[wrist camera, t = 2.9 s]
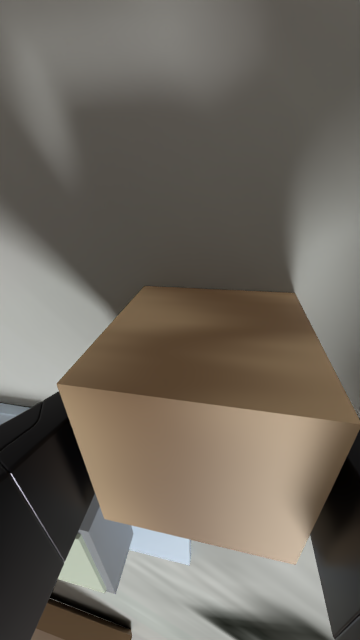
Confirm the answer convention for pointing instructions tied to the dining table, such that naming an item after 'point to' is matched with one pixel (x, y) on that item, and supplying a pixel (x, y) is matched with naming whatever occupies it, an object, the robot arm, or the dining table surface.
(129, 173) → the dining table surface
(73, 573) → the base block
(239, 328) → the oak cube
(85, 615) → the photo frame
